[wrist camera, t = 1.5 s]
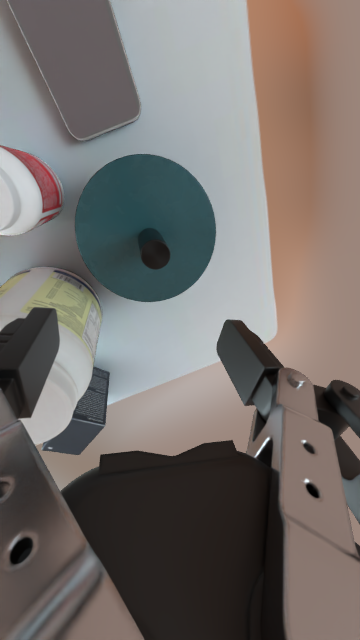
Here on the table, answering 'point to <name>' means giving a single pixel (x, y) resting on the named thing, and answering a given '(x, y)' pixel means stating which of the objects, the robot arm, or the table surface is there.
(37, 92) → the table surface
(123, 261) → the lid
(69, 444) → the box
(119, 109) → the smartphone
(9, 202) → the pill bottle
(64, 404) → the supplement tub
